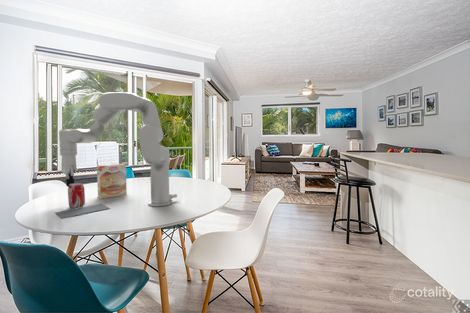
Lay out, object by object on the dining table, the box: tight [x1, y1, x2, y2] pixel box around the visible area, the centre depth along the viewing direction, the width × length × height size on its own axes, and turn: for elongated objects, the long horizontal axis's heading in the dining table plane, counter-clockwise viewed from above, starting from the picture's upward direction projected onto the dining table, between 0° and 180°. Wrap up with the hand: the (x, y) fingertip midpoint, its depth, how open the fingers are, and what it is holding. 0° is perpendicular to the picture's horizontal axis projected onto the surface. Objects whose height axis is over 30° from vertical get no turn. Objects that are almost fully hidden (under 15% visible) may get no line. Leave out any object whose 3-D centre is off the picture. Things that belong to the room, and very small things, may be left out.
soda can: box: [67, 182, 86, 209], centre depth 120 cm, size 7×7×12 cm
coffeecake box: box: [96, 163, 127, 199], centre depth 145 cm, size 15×7×20 cm, turn 132°
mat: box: [55, 203, 111, 219], centre depth 114 cm, size 20×12×1 cm, turn 138°
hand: (70, 185), depth 127 cm, fingers closed
